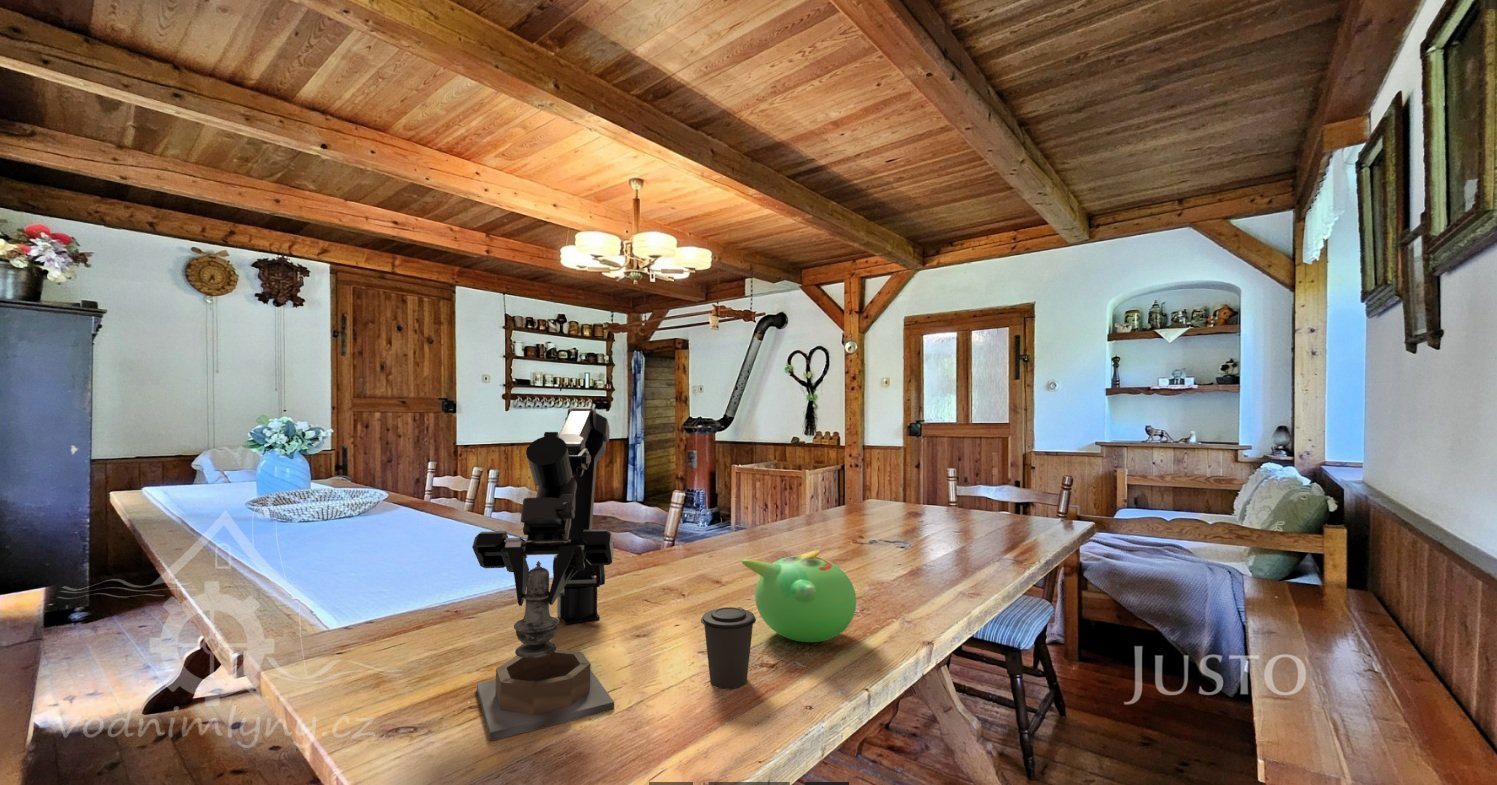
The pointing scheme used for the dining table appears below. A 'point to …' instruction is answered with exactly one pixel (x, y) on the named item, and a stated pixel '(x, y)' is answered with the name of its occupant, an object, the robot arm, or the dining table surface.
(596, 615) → the robot arm
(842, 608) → the round green monster
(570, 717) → the socket
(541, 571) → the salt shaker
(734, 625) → the coffee cup
